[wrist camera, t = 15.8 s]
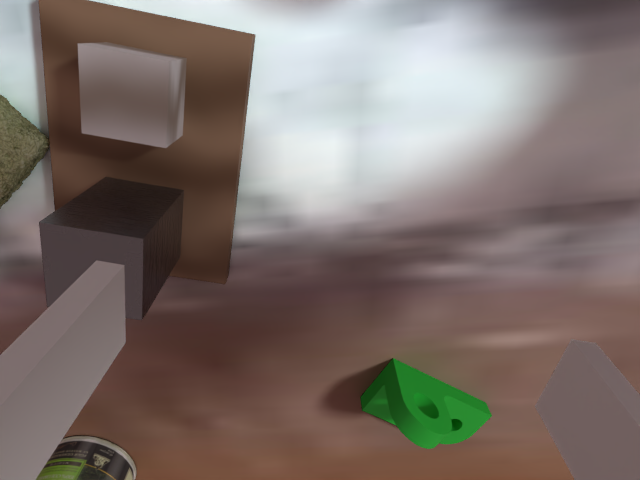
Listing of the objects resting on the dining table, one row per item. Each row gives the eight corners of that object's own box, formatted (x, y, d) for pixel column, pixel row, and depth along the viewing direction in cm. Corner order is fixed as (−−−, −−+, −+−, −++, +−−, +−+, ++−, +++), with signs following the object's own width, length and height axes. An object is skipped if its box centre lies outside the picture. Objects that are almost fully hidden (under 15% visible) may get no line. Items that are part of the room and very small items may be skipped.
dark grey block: (105, 176, 34) (39, 222, 25) (184, 190, 34) (143, 238, 26) (107, 245, 36) (47, 306, 28) (180, 256, 37) (142, 320, 29)
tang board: (50, -8, 30) (-3, -16, 25) (255, 34, 31) (244, 34, 26) (67, 250, 38) (30, 283, 33) (228, 275, 39) (215, 310, 34)
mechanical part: (360, 395, 46) (368, 463, 39) (392, 356, 44) (408, 420, 37) (450, 435, 49) (474, 505, 41) (485, 401, 46) (516, 468, 39)
